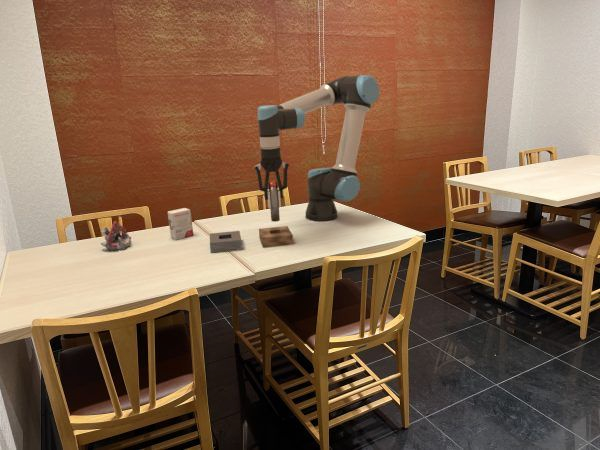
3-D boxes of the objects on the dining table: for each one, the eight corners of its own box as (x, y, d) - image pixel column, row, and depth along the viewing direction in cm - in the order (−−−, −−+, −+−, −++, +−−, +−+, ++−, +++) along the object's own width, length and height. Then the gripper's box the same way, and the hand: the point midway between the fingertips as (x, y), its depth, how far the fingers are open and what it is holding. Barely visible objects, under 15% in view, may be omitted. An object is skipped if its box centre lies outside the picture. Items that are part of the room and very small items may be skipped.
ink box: (188, 233, 194) (185, 207, 191) (194, 235, 190) (191, 209, 187) (170, 237, 189) (166, 211, 185) (175, 240, 185) (171, 213, 182)
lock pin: (279, 218, 179) (276, 181, 174) (280, 221, 176) (277, 182, 171) (270, 219, 178) (267, 181, 174) (271, 221, 175) (268, 183, 170)
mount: (287, 235, 186) (287, 226, 185) (292, 244, 175) (292, 234, 174) (259, 237, 184) (258, 228, 183) (262, 247, 173) (262, 237, 171)
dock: (240, 239, 183) (239, 230, 181) (242, 249, 171) (241, 239, 170) (210, 242, 180) (209, 233, 179) (210, 253, 169) (209, 243, 168)
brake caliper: (123, 247, 172) (103, 223, 171) (107, 261, 176) (88, 238, 176) (141, 238, 182) (122, 215, 182) (125, 252, 187) (107, 229, 186)
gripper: (289, 144, 173) (293, 202, 180) (247, 148, 170) (252, 206, 177) (293, 147, 166) (296, 207, 173) (249, 150, 163) (254, 211, 170)
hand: (274, 206), depth 175 cm, fingers closed on lock pin, 3 cm apart
